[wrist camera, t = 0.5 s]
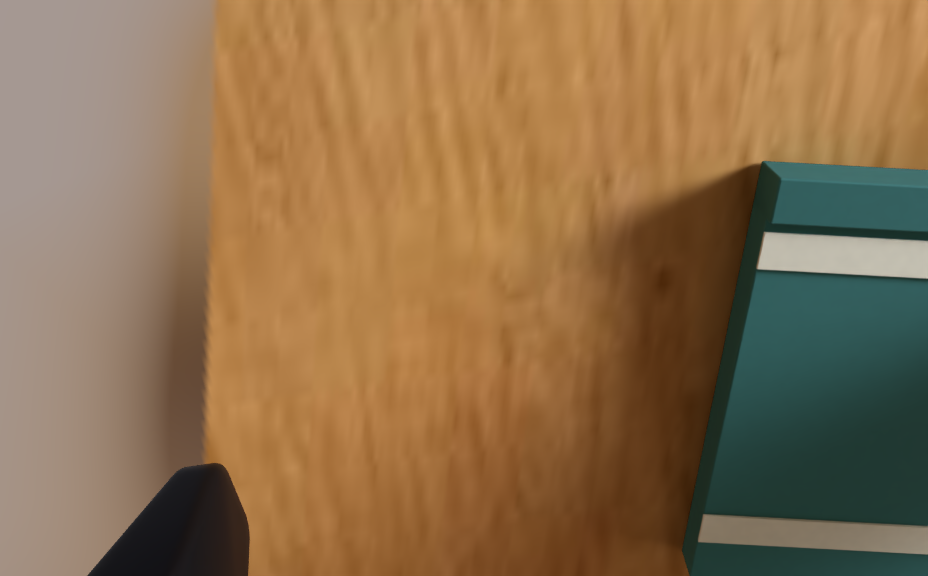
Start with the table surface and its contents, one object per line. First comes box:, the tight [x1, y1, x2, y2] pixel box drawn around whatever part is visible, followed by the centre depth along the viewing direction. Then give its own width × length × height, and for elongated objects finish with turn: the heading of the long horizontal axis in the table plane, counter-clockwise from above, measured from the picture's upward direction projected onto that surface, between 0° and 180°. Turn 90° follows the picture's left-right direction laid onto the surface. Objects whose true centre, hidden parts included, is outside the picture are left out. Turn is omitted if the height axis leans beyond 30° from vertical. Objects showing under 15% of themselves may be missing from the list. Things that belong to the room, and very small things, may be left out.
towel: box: [682, 161, 928, 576], centre depth 24 cm, size 13×11×2 cm
